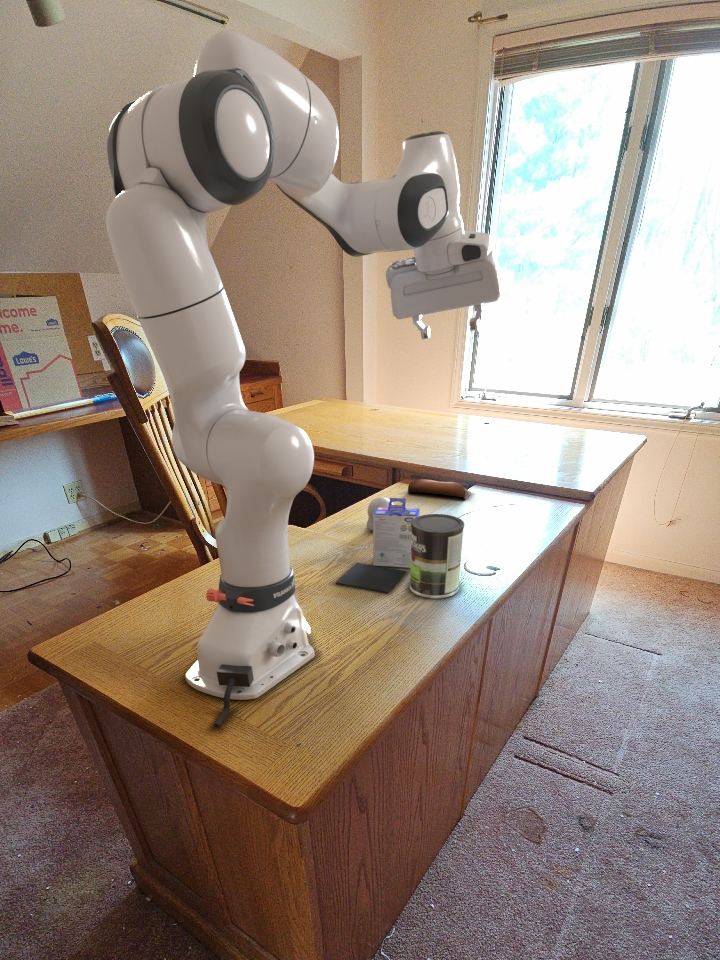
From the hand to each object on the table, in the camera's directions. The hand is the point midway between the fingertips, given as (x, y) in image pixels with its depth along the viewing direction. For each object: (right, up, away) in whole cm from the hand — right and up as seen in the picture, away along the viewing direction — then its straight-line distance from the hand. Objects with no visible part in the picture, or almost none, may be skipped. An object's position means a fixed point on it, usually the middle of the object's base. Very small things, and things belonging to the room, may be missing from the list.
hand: (450, 333), depth 108 cm
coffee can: (-2, -49, +8) cm, 49 cm away
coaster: (-15, -46, +13) cm, 50 cm away
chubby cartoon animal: (-10, -31, +36) cm, 49 cm away
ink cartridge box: (-9, -42, +19) cm, 47 cm away
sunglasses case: (+7, -15, +62) cm, 65 cm away
